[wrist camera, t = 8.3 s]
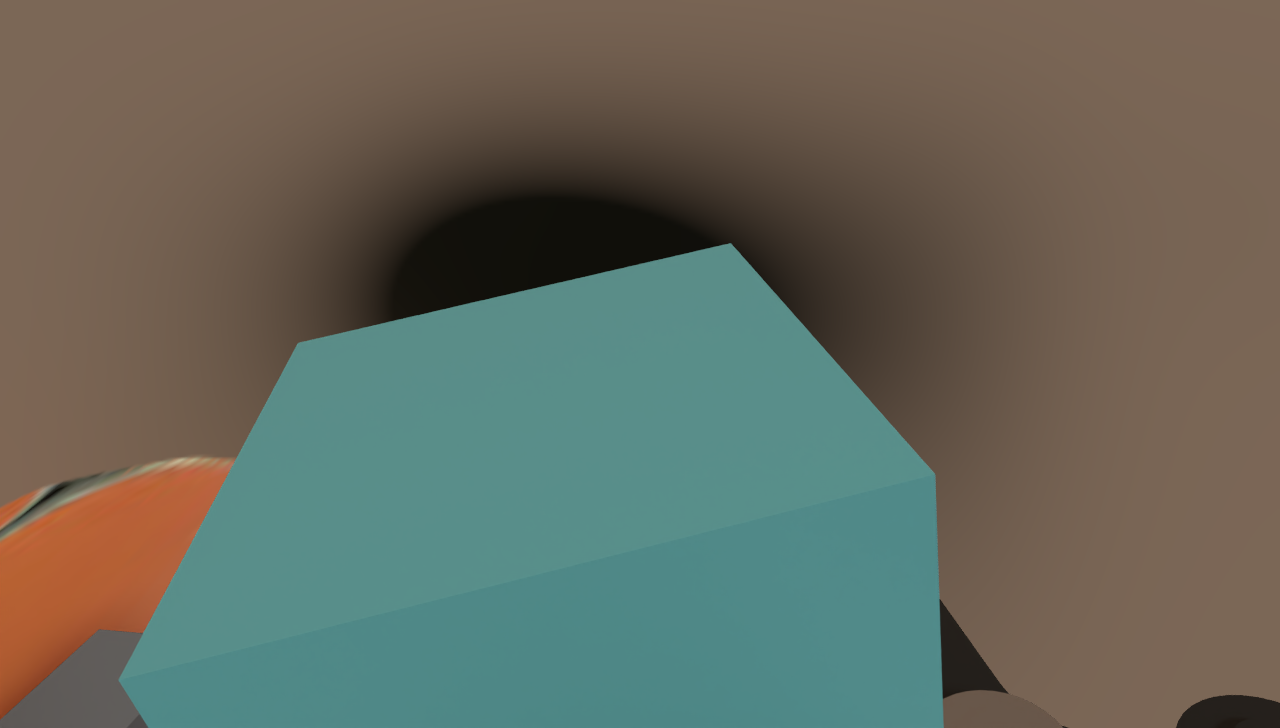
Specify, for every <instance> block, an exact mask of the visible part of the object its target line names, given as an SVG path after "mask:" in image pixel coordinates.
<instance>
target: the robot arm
mask: <svg viewBox="0 0 1280 728" xmlns="http://www.w3.org/2000/svg"><path fill="white" fill-rule="evenodd" d="M939 605H940V635H941V664H942V694H943V724H944V728H1067V727H1064V726H1061V725H1060V724H1059V723H1058V722H1057V721H1056V719H1055V718H1053V717H1052V716H1051V715H1049V714H1048V713H1047V712H1046V711H1044V710H1043V709H1041V708H1039V707H1038V706H1036V705H1034V704H1033V703H1031V702H1029V701H1027V700H1024V699H1022V698H1020V697H1017V696H1013V695H1010V694H1008V692H1007V691H1006V690H1005V689H1004V688H1003V686H1002V685H1001V684H1000V683H999V681H998V680H997V678H996V677H995V676H994V674H993V673H992V671H991V670H990V669H989V667H988V666H987V665H986V663H985V662H984V660H983V659H982V657H980V655H979V653H978V652H977V651H976V649H975V648H974V646H973V645H972V643H971V642H970V641H969V639H968V638H967V636H966V635H965V634H964V632H963V631H962V629H961V628H960V627H959V625H958V624H957V623H956V621H955V620H954V618H953V617H952V615H951V614H950V613H949V611H948V610H947V608H946V607H945V606H944V604H943V603H942V601H941V600H940V599H939ZM1176 728H1280V703H1278V702H1275V701H1272V700H1267V699H1263V698H1259V697H1251V696H1243V695H1225V696H1218V697H1212V698H1208V699H1205V700H1202V701H1200V702H1198V703H1196V704H1194V705H1192V706H1191V707H1190V708H1189V709H1187V710H1186V711H1185V712H1184V713H1183V715H1182V716H1181V718H1180V719H1179V721H1178V724H1177V727H1176Z"/></svg>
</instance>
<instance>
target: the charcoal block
mask: <svg viewBox="0 0 1280 728" xmlns="http://www.w3.org/2000/svg"><path fill="white" fill-rule="evenodd" d="M142 635H143V633H134V632H122V631H111V630H98V631H97V632H96V633H95V634H94V635H93V636H91V637H90V638H89V639H88V640H87V641H86V642H85V643H84V644H83V645H82V646H80V647H79V648H78V649H77V650H76V651H75V652H74V653H73V654H72V655H71V656H70V657H68V658H67V659H66V660H65V661H64V662H63V663H62V664H61V665H60V666H59V667H57V668H56V669H55V670H54V671H53V672H52V673H51V674H50V675H49V676H48V677H47V678H45V679H44V680H43V681H42V682H41V683H40V684H39V685H38V686H37V687H36V688H35V689H33V690H32V691H31V692H30V693H29V694H28V695H27V696H26V697H25V698H24V699H22V700H21V701H20V702H19V703H18V704H17V705H16V706H15V707H14V708H13V709H12V710H10V711H9V712H8V713H7V714H6V715H5V716H4V717H3V718H2V719H1V720H0V728H148V726H147V725H146V723H145V721H144V720H143V718H142V717H141V715H140V714H139V712H138V710H137V709H136V707H135V706H134V704H133V702H132V701H131V699H130V698H129V696H128V695H127V693H126V691H125V690H124V688H123V687H122V685H121V684H120V682H119V678H120V676H121V674H122V672H123V671H124V669H125V667H126V665H127V663H128V661H129V659H130V657H131V656H132V654H133V652H134V650H135V648H136V646H137V644H138V642H139V641H140V639H141V637H142Z"/></svg>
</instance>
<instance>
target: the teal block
mask: <svg viewBox="0 0 1280 728" xmlns="http://www.w3.org/2000/svg"><path fill="white" fill-rule="evenodd" d="M935 487H936V486H935V474H934V473H933V472H932V471H931V469H930V468H929V467H928V466H927V465H926V463H925V462H924V461H923V460H922V459H921V458H920V457H919V456H918V455H917V453H916V452H915V451H914V450H913V449H912V448H911V447H910V446H909V444H908V443H907V442H906V441H905V440H904V439H903V438H902V436H901V435H900V434H899V433H898V432H897V431H896V430H895V428H894V427H893V426H892V425H891V424H890V423H889V422H888V421H887V419H886V418H885V417H884V416H883V415H882V414H881V413H880V412H879V410H878V409H877V408H876V407H875V406H874V405H873V404H872V403H871V401H870V400H869V399H868V398H867V397H866V396H865V395H864V393H863V392H862V391H861V390H860V389H859V388H858V387H857V386H856V385H855V383H854V382H853V381H852V380H851V379H850V378H849V376H848V375H847V374H846V373H845V372H844V371H843V370H842V369H841V368H840V366H839V365H838V364H837V363H836V362H835V361H834V360H833V358H832V357H831V356H830V355H829V354H828V353H827V352H826V350H825V349H824V348H823V347H822V346H821V345H820V344H819V343H818V341H817V340H816V339H815V338H814V337H813V336H812V335H811V334H810V332H809V331H808V330H807V329H806V328H805V327H804V326H803V324H802V323H801V322H800V321H799V320H798V319H797V318H796V317H795V315H794V314H793V313H792V312H791V311H790V310H789V309H788V308H787V306H786V305H785V304H784V303H783V302H782V301H781V300H780V299H779V297H778V296H777V295H776V294H775V293H774V292H773V291H772V289H771V288H770V287H769V286H768V285H767V284H766V283H765V282H764V280H763V279H762V278H761V277H760V276H759V275H758V274H757V273H756V271H755V270H754V269H753V268H752V267H751V266H750V265H749V263H748V262H747V261H746V260H745V259H744V258H743V257H742V256H741V254H740V253H739V252H738V251H737V250H736V249H735V248H734V247H733V245H732V244H726V245H721V246H717V247H713V248H708V249H705V250H700V251H696V252H691V253H687V254H683V255H679V256H674V257H670V258H665V259H661V260H657V261H652V262H648V263H644V264H639V265H635V266H630V267H626V268H622V269H617V270H613V271H609V272H604V273H600V274H596V275H591V276H587V277H583V278H578V279H574V280H570V281H565V282H561V283H557V284H552V285H548V286H544V287H539V288H535V289H531V290H526V291H522V292H517V293H513V294H509V295H505V296H500V297H496V298H492V299H487V300H483V301H478V302H474V303H470V304H465V305H462V306H457V307H453V308H448V309H444V310H439V311H435V312H431V313H426V314H423V315H418V316H413V317H409V318H405V319H400V320H396V321H392V322H387V323H383V324H379V325H375V326H370V327H366V328H361V329H357V330H353V331H348V332H344V333H340V334H336V335H331V336H327V337H323V338H318V339H314V340H309V341H305V342H301V343H298V344H297V346H296V348H295V350H294V352H293V354H292V356H291V357H290V359H289V361H288V363H287V365H286V367H285V369H284V370H283V372H282V374H281V376H280V378H279V380H278V382H277V384H276V385H275V387H274V389H273V391H272V393H271V395H270V397H269V399H268V400H267V403H266V404H265V406H264V408H263V410H262V412H261V414H260V415H259V417H258V419H257V421H256V423H255V425H254V427H253V429H252V430H251V432H250V434H249V436H248V438H247V440H246V442H245V444H244V445H243V447H242V450H241V451H240V453H239V455H238V457H237V459H236V460H235V462H234V464H233V466H232V468H231V470H230V472H229V474H228V475H227V477H226V479H225V481H224V483H223V485H222V487H221V489H220V490H219V492H218V494H217V496H216V498H215V500H214V502H213V504H212V505H211V507H210V509H209V511H208V513H207V515H206V517H205V519H204V520H203V522H202V524H201V526H200V528H199V530H198V532H197V534H196V536H195V537H194V539H193V541H192V543H191V545H190V547H189V549H188V551H187V552H186V554H185V556H184V558H183V560H182V562H181V564H180V566H179V567H178V569H177V571H176V573H175V575H174V577H173V579H172V581H171V582H170V584H169V586H168V588H167V590H166V592H165V594H164V596H163V597H162V599H161V601H160V603H159V605H158V607H157V609H156V611H155V612H154V614H153V616H152V618H151V620H150V622H149V624H148V626H147V627H146V629H145V631H144V633H143V635H142V637H141V639H140V641H139V642H138V644H137V646H136V648H135V650H134V652H133V654H132V656H131V657H130V659H129V661H128V663H127V665H126V667H125V669H124V671H123V672H122V674H121V676H120V678H119V682H120V684H121V685H122V687H123V688H124V690H125V691H126V693H127V695H128V696H129V698H130V699H131V701H132V702H133V704H134V706H135V707H136V709H137V710H138V712H139V714H140V715H141V717H142V718H143V720H144V721H145V723H146V725H147V726H148V728H944V724H943V694H942V664H941V635H940V605H939V577H938V576H939V575H938V546H937V517H936V490H935V489H936V488H935Z"/></svg>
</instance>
